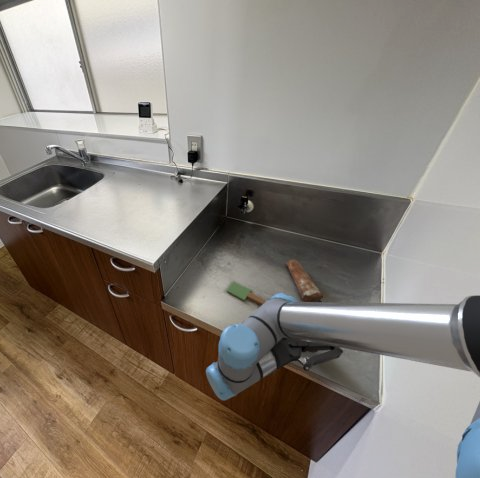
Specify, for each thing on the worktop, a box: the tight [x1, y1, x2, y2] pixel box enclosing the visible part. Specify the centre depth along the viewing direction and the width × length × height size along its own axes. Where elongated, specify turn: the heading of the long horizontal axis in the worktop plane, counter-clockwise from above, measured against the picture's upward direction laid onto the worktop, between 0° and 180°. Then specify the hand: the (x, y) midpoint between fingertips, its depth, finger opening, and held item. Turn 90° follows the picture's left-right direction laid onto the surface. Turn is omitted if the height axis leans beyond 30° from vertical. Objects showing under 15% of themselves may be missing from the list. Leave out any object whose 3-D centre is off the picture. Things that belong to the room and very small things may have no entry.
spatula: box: [226, 281, 267, 306], centre depth 88 cm, size 18×5×1 cm, turn 49°
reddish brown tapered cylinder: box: [286, 258, 324, 302], centre depth 89 cm, size 6×19×6 cm, turn 177°
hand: (334, 315), depth 66 cm, fingers closed on kendama, 8 cm apart
